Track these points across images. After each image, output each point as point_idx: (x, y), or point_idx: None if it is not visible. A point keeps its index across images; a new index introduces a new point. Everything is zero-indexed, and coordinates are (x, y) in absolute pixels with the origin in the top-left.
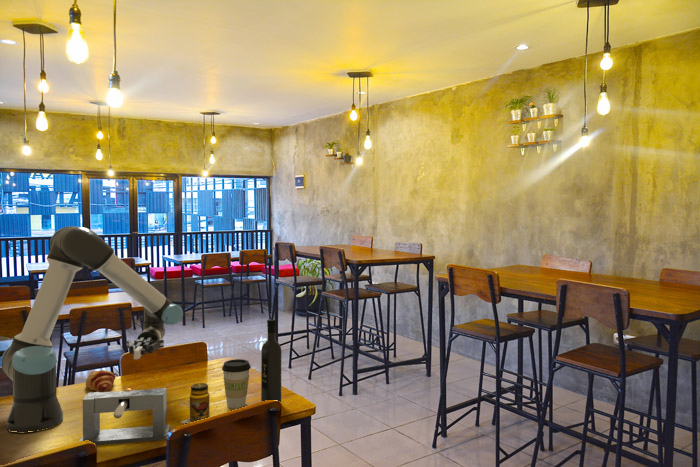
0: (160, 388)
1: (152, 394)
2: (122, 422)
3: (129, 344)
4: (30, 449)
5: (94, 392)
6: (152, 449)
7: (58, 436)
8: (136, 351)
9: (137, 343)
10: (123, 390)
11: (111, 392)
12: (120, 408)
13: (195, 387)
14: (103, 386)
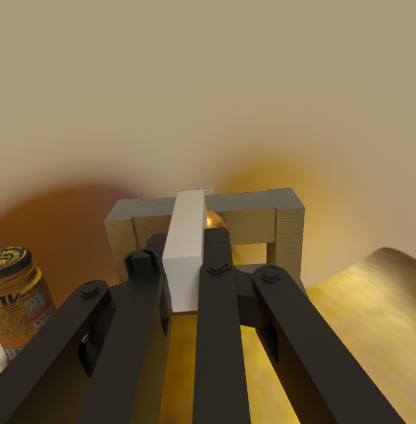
0: (119, 219)
1: (141, 200)
2: (247, 367)
3: (329, 329)
4: (382, 267)
5: (288, 207)
6: None
7: (375, 307)
8: (190, 192)
9: (246, 388)
10: (214, 211)
11: (242, 207)
12: (202, 186)
13: (20, 250)
14: None
